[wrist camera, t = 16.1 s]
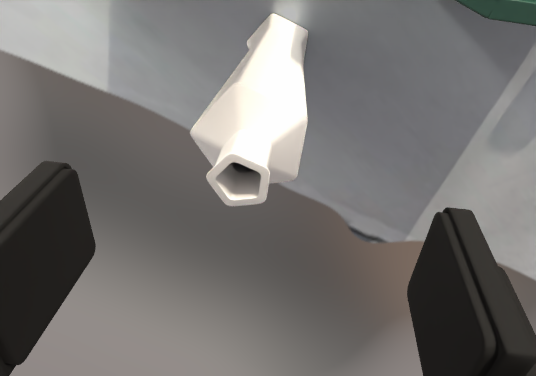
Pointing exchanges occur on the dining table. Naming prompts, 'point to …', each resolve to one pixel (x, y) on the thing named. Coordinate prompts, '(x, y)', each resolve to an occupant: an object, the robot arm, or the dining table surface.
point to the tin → (504, 10)
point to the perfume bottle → (258, 116)
